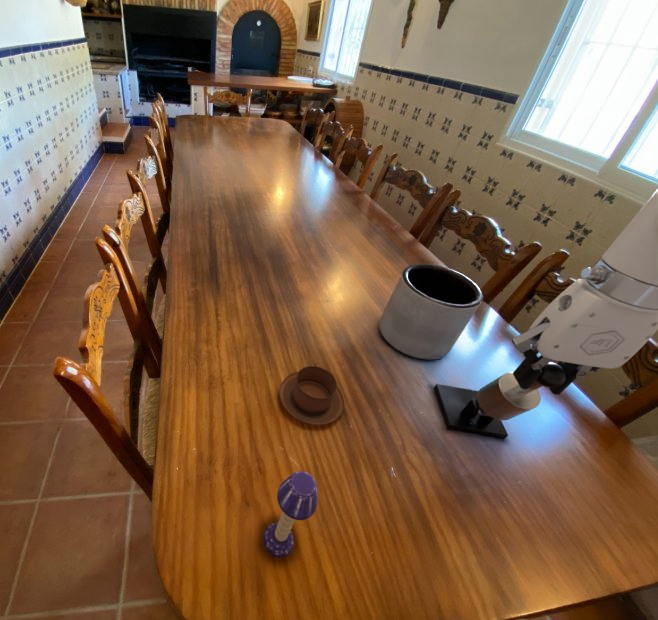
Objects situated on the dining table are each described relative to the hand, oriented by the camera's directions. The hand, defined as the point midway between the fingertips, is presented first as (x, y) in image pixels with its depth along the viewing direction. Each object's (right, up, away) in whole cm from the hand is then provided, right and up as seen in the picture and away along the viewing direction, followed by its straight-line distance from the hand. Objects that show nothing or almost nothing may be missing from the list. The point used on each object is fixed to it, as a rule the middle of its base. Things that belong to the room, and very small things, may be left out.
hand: (535, 383), depth 53 cm
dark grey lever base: (0, -9, +15) cm, 18 cm away
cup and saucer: (-30, -7, +15) cm, 34 cm away
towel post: (0, -8, +12) cm, 14 cm away
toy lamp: (-38, -21, -3) cm, 44 cm away
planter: (-3, +4, +31) cm, 32 cm away
